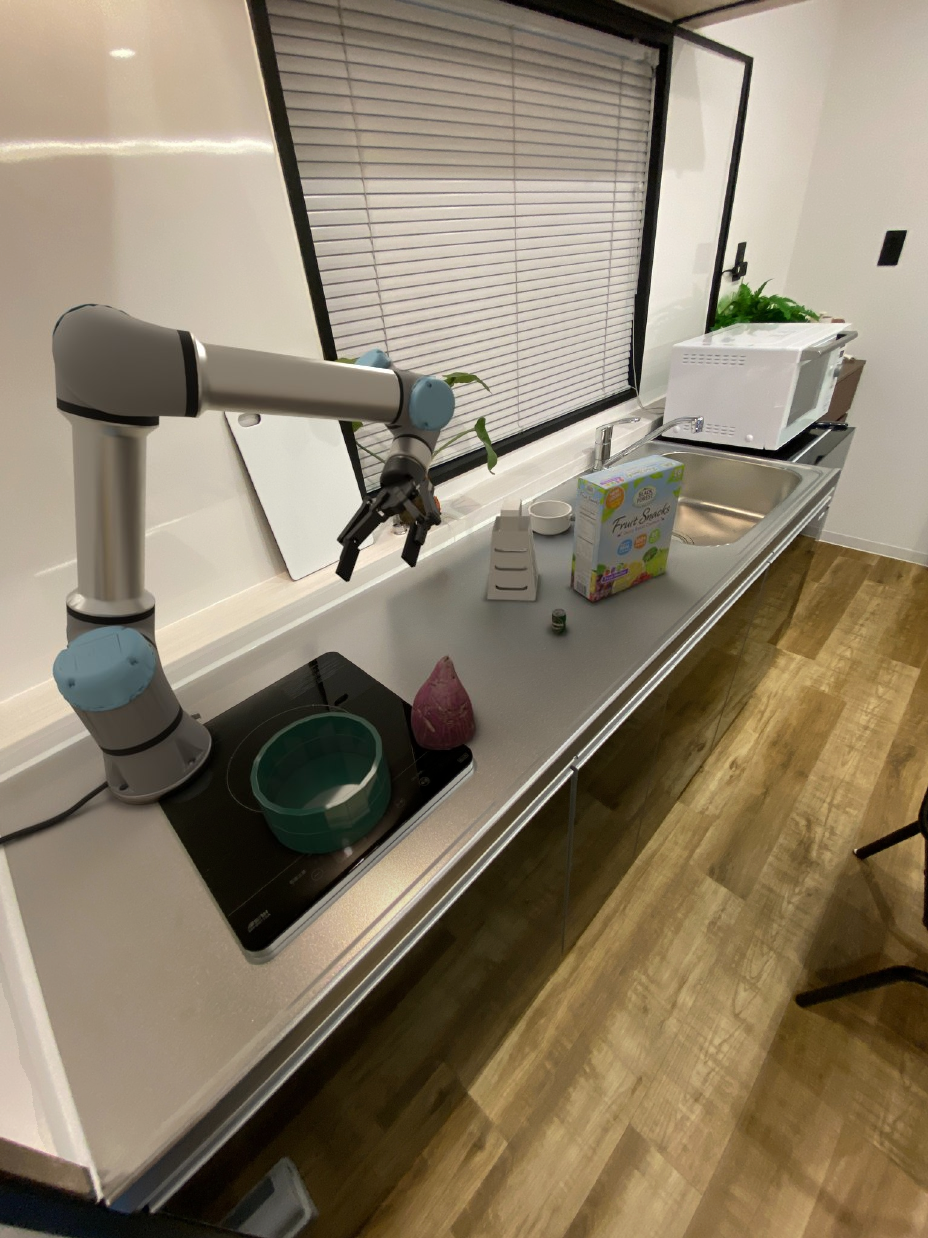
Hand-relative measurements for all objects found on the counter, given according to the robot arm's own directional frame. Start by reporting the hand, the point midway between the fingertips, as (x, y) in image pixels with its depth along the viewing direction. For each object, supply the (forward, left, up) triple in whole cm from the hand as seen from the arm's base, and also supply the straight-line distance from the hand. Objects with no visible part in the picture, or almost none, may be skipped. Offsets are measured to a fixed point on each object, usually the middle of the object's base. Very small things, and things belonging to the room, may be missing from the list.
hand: (373, 570), depth 83 cm
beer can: (+34, -2, -24) cm, 42 cm away
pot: (-17, -18, -24) cm, 34 cm away
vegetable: (+3, -14, -24) cm, 28 cm away
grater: (+35, +17, -24) cm, 46 cm away
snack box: (+56, +6, -24) cm, 61 cm away
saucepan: (+61, +34, -24) cm, 74 cm away
